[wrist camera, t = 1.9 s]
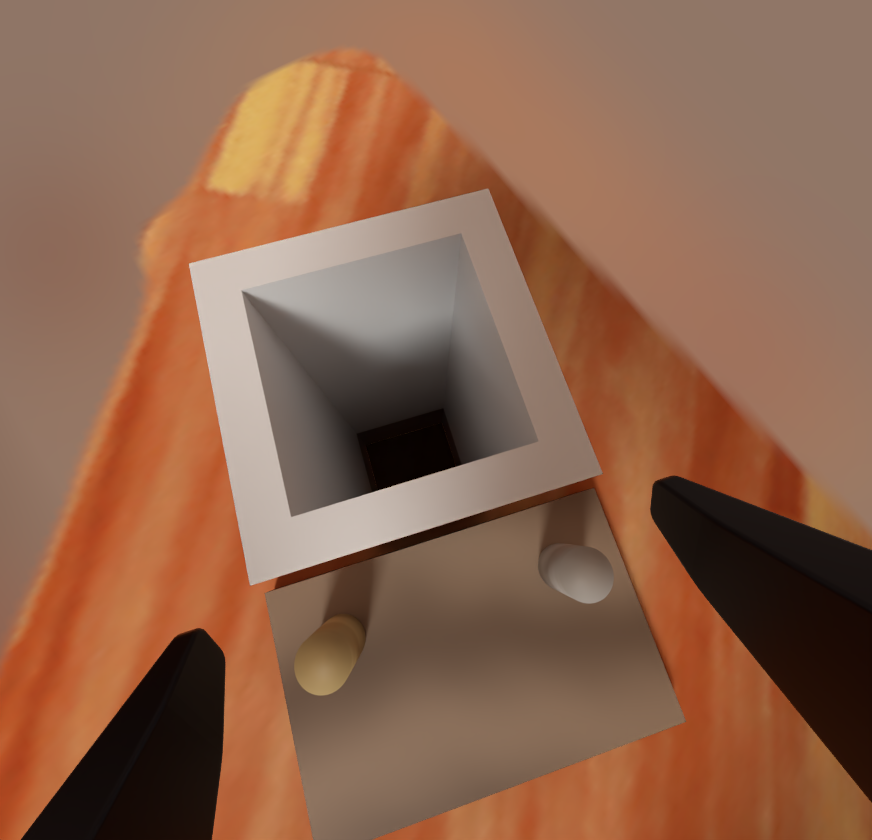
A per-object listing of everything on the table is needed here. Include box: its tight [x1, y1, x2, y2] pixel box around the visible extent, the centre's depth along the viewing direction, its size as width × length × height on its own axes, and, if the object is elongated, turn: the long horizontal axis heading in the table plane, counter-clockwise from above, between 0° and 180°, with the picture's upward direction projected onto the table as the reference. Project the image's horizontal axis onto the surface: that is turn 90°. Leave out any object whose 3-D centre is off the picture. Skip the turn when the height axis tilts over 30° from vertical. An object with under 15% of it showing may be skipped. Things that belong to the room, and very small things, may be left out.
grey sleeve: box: [189, 189, 603, 586], centre depth 13 cm, size 5×5×13 cm
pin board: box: [265, 488, 686, 840], centre depth 15 cm, size 9×14×4 cm, turn 107°
